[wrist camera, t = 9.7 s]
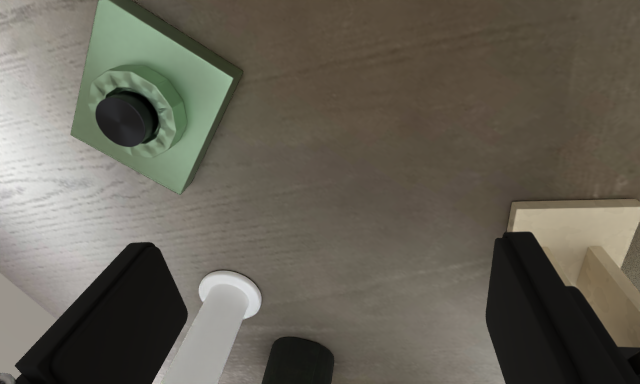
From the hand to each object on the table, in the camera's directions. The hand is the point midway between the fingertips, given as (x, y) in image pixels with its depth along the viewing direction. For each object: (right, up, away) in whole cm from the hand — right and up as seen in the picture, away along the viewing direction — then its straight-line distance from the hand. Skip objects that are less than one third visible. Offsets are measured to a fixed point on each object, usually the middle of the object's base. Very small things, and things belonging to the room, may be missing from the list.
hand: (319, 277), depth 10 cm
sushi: (-2, -18, +35) cm, 39 cm away
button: (-14, +8, +16) cm, 23 cm away
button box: (-13, +10, +19) cm, 25 cm away
